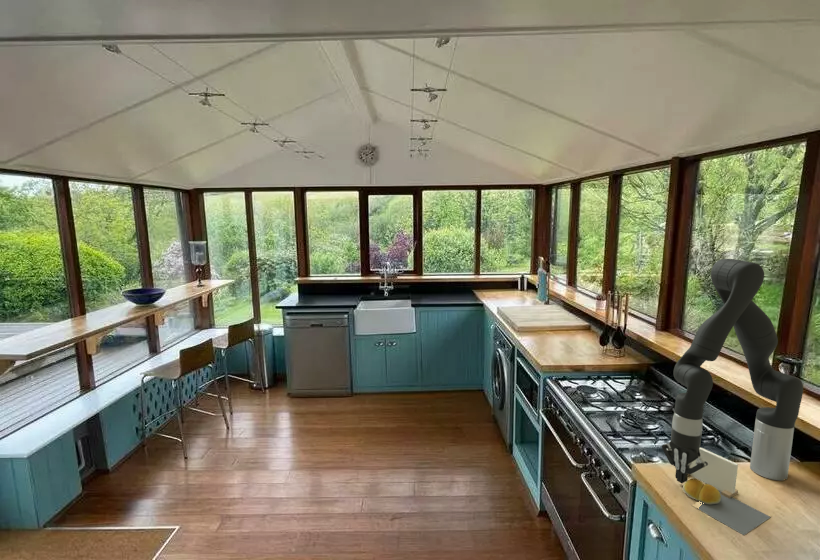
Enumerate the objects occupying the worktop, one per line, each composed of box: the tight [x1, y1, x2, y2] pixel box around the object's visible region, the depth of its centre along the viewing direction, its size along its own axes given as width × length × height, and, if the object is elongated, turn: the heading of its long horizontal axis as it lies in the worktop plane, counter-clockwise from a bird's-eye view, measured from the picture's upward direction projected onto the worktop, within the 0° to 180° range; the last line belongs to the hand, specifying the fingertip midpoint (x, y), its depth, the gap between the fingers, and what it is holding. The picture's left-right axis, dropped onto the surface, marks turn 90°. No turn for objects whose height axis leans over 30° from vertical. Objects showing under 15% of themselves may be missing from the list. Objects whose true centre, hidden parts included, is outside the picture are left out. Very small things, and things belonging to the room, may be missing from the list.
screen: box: [688, 446, 739, 498], centre depth 129 cm, size 5×14×10 cm, turn 27°
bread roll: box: [682, 478, 721, 504], centre depth 124 cm, size 8×9×4 cm
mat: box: [698, 489, 771, 536], centre depth 118 cm, size 14×13×1 cm
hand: (680, 481), depth 129 cm, fingers closed
